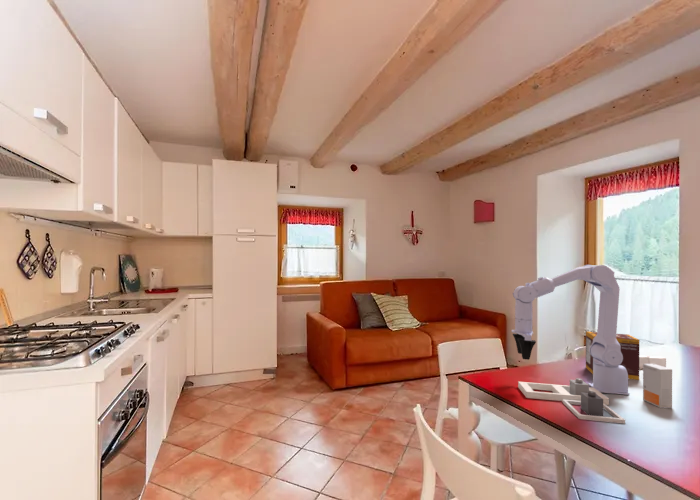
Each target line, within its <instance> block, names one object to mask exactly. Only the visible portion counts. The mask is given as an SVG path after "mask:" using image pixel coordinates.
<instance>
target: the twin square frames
mask: <svg viewBox="0 0 700 500" xmlns="http://www.w3.org/2000/svg"><path fill="white" fill-rule="evenodd" d="M517 383H518V385H517V387H518V389H519V390H520V391H521V393H522V394H523V395H524V396H525V398H527V399H536V400H547V401H559V402H563V399H564V400H575V401H581V395H571V394H570V385H565V384H563V385H562V384H554V383H553V384H552V383H542V382H541V383H539V382H531V381H530V382H527V381H517ZM535 390H539V391H535ZM540 390H541V391H540ZM545 391H550V392H545ZM589 391H593V392H595V393H596V394H597V395H598V396H600V397H601V398H602V399H603V403H604V404H605V405H607V406H610V398H609V397H608V396H606V395H604V393H602V392H599V391H598V390H596V389H595V388H592V387H591V386H589Z"/></svg>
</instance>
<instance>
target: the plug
mask: <svg viewBox="0 0 700 500" xmlns="http://www.w3.org/2000/svg"><path fill="white" fill-rule="evenodd" d="M580 410H581V411H583V412H584V413H585V415H591V416H602V417H604V408H603V399H602V398H601V397H600V396H598V395H597V394H596V393H595V392H593V391H588V393H583V392H581V405H580Z"/></svg>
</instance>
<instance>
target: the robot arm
mask: <svg viewBox="0 0 700 500" xmlns="http://www.w3.org/2000/svg"><path fill="white" fill-rule="evenodd" d="M578 280H580V281H585V282H586V283H588V284H590V285H592V286H593V287H595V288H596V289H597V290H598V291H599V292H600V293H599V304H598V318H597V319H598V320H597V329H596V330H597V331H596V332H597V335H596V336H595V337H594V338H593V343H592V345H591V346H590V349H589V352H590V355H591V356H592V357H593V374H592V383H590V382H588V383H587V384H588V385H589V387H591V388H595V389H596V390H598V391H599V392H600V393H602V394H614V395H615V394H616V395H624V396H625V395H626V396H628V395H629V396H630V393H629V379H628V373H627V370H626V368H625V367H624V366H621V365H620V364H621V363H622V361H623V355H622V353H621V346H620V344H619V342H618V341H617V339H616V334H617V328H618V316H619V315H618V314H619V303H620V302H619V301H620V289H621V288H620V286H619V283H618V282H617V280H616V278H615V271H614V270H612V269H611V268H610V267H608V265H607V266H606V265H604V264H597V265H596V264H595V265H592V264H585V265H583V266H577V267H575V268H573V269H571V270H568V271H566V272H563V273H561V274H559V275H557V276H554V277H552V278H549V277H545V276H544V277H543V276H540V277H537V280H534V281H532V282H525V283H524V284H525V285H519V286H517V287H515V289H514V291H513V292H512V296H513V298H514V299H515V300H514V301H515V303H514V304H515V305H514V329H511V333H512V336H513V338H514V341H515V345H516V350H517V353H518V354H520V355H521V358H522V359H523V360H528V361H529V360H530V358H531V355H532V350H533V348H534V346H535V345H536V343H537V341H536V340H534V339H532V335H534V331H533V302H534V301H535V299H538V298H540V297H543V296H546V295H549V294H551V293H553V292H554V291H555V288H556V287H559V286H563V285H565V284H568V283H569V284H570V283H571V282H575V281H578Z"/></svg>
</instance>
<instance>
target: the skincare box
mask: <svg viewBox="0 0 700 500" xmlns="http://www.w3.org/2000/svg"><path fill="white" fill-rule="evenodd" d="M642 400H643V402H646V403H649V404H652V405H653V406H656V407H657V408H660V409H671V408H673V369H671V368H669V367H667V366H666V367H663V366H659V365H656V364H643V369H642Z"/></svg>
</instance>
